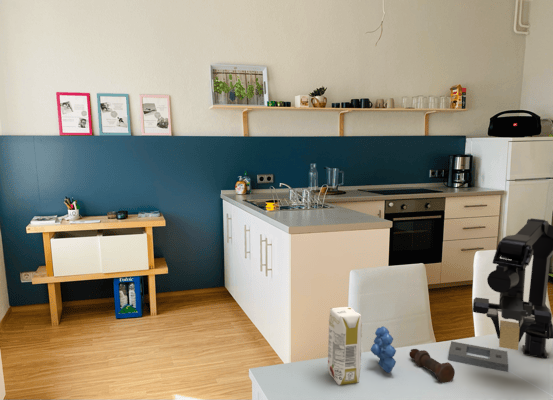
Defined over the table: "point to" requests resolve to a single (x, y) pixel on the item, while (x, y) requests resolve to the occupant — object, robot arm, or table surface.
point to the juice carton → (344, 345)
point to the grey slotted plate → (495, 362)
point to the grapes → (384, 349)
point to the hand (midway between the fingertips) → (508, 339)
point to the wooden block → (509, 335)
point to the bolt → (433, 365)
